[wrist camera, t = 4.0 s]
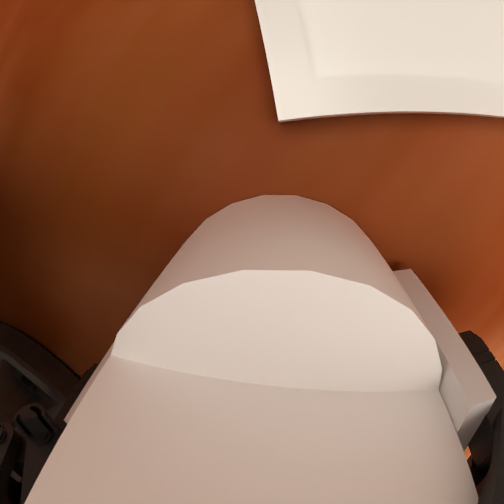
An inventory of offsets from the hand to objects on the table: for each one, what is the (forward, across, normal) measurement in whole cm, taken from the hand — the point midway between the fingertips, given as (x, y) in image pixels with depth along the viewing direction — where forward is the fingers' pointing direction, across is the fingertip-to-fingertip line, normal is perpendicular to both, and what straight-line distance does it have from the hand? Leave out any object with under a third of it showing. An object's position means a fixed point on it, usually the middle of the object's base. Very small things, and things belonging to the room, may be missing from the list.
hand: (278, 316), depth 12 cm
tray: (+1, +11, +17) cm, 20 cm away
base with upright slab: (+1, 0, 0) cm, 1 cm away
